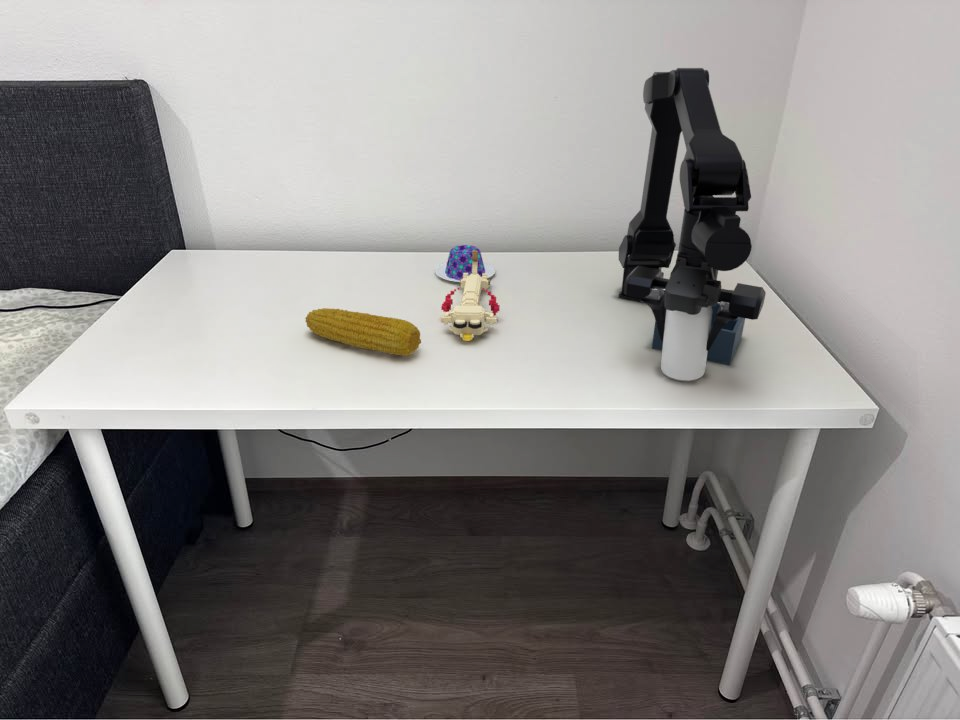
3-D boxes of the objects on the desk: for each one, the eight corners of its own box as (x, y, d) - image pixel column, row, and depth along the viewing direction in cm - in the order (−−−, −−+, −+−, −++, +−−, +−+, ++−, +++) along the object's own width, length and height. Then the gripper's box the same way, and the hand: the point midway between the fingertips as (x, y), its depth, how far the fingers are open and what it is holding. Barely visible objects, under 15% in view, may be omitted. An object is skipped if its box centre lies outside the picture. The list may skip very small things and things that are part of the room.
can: (708, 365, 108) (717, 293, 102) (700, 386, 103) (710, 311, 97) (665, 358, 110) (672, 287, 105) (655, 377, 105) (662, 304, 100)
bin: (651, 348, 114) (655, 316, 111) (667, 323, 121) (672, 294, 119) (729, 365, 109) (735, 333, 106) (741, 338, 117) (747, 308, 114)
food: (425, 350, 113) (423, 316, 110) (407, 366, 108) (405, 331, 106) (316, 326, 120) (312, 294, 118) (296, 340, 116) (291, 307, 113)
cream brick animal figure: (449, 292, 137) (436, 341, 114) (449, 247, 133) (435, 289, 110) (501, 293, 136) (497, 342, 113) (501, 248, 133) (498, 291, 110)
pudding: (441, 262, 147) (440, 237, 145) (498, 264, 146) (498, 240, 143) (430, 283, 137) (429, 258, 135) (491, 287, 136) (491, 261, 133)
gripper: (617, 250, 94) (606, 353, 102) (763, 275, 87) (740, 384, 94) (640, 227, 103) (629, 323, 110) (775, 247, 95) (754, 349, 103)
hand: (684, 344), depth 104 cm, fingers closed on can, 6 cm apart
